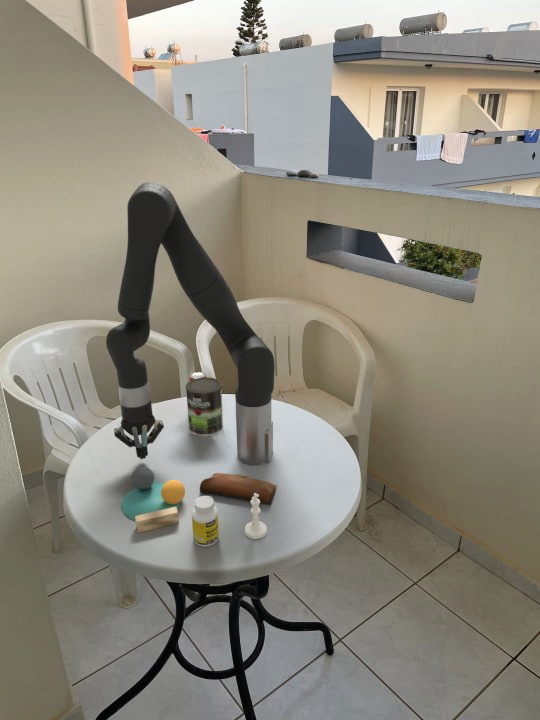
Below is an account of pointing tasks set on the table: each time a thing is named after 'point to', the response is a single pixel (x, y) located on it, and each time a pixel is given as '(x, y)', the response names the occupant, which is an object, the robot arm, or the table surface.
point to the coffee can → (204, 406)
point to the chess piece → (255, 521)
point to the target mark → (145, 501)
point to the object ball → (173, 492)
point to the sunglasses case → (238, 487)
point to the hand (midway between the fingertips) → (142, 457)
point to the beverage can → (197, 375)
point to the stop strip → (157, 519)
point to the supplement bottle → (205, 522)
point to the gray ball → (142, 478)
